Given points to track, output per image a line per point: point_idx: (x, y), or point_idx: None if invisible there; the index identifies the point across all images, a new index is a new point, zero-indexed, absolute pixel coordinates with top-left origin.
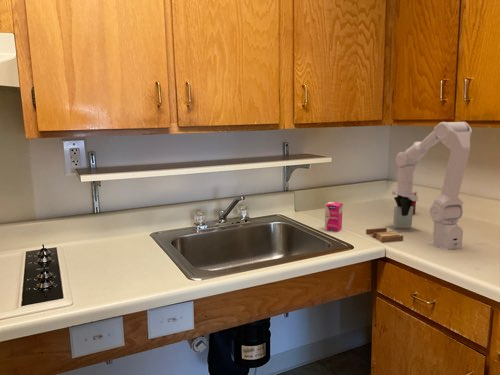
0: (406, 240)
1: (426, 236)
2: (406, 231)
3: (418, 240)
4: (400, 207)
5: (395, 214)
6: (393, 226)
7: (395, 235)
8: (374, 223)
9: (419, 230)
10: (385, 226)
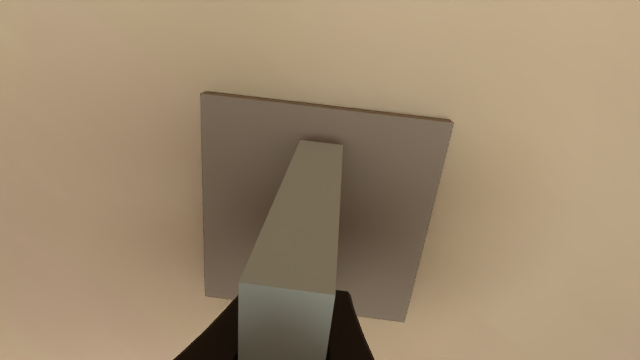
0: (5, 16)
1: (102, 250)
2: (216, 185)
3: (3, 121)
4: (240, 352)
5: (296, 202)
6: (402, 192)
7: None
8: (635, 124)
9: (216, 294)
10: (442, 121)
